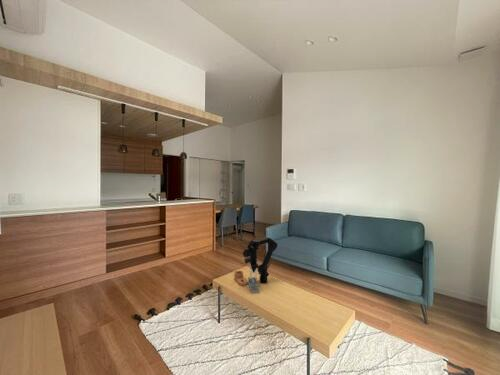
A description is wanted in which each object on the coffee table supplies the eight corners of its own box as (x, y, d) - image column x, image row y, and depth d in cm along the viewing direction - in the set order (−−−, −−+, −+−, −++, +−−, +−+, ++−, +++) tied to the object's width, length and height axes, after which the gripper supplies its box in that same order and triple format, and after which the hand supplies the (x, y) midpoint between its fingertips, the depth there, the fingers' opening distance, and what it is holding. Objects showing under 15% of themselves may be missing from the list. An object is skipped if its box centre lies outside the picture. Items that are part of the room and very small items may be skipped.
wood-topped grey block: (256, 276, 191) (256, 267, 190) (256, 278, 188) (256, 268, 187) (249, 276, 190) (250, 267, 190) (250, 278, 187) (250, 268, 187)
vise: (256, 282, 196) (256, 276, 196) (258, 287, 186) (258, 281, 186) (247, 282, 195) (248, 276, 195) (249, 287, 185) (249, 281, 185)
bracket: (233, 278, 203) (233, 271, 202) (240, 276, 206) (241, 269, 206) (240, 287, 187) (240, 279, 186) (249, 285, 190) (249, 277, 190)
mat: (258, 289, 184) (258, 288, 184) (260, 294, 176) (260, 293, 176) (249, 289, 183) (249, 288, 183) (250, 294, 175) (250, 293, 175)
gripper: (243, 251, 196) (243, 267, 197) (245, 258, 178) (245, 276, 178) (255, 251, 198) (255, 267, 198) (258, 258, 179) (258, 276, 180)
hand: (253, 271), depth 189 cm, fingers closed on wood-topped grey block, 3 cm apart
